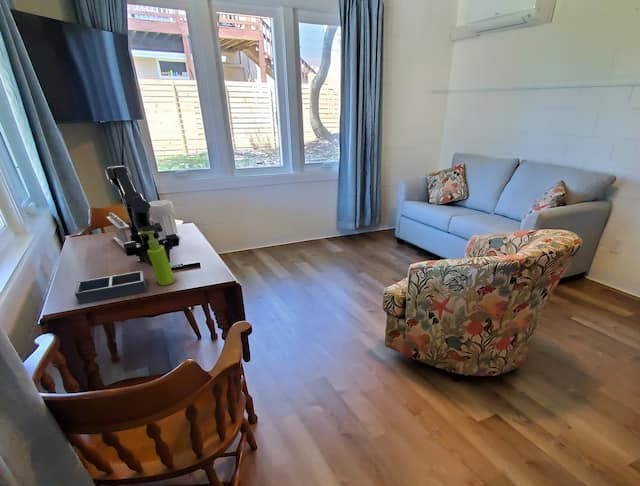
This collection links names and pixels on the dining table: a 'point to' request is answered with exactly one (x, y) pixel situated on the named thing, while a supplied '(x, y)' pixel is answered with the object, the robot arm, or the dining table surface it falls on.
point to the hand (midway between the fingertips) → (160, 264)
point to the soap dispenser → (159, 260)
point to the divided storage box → (110, 287)
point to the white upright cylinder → (163, 217)
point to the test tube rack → (119, 229)
